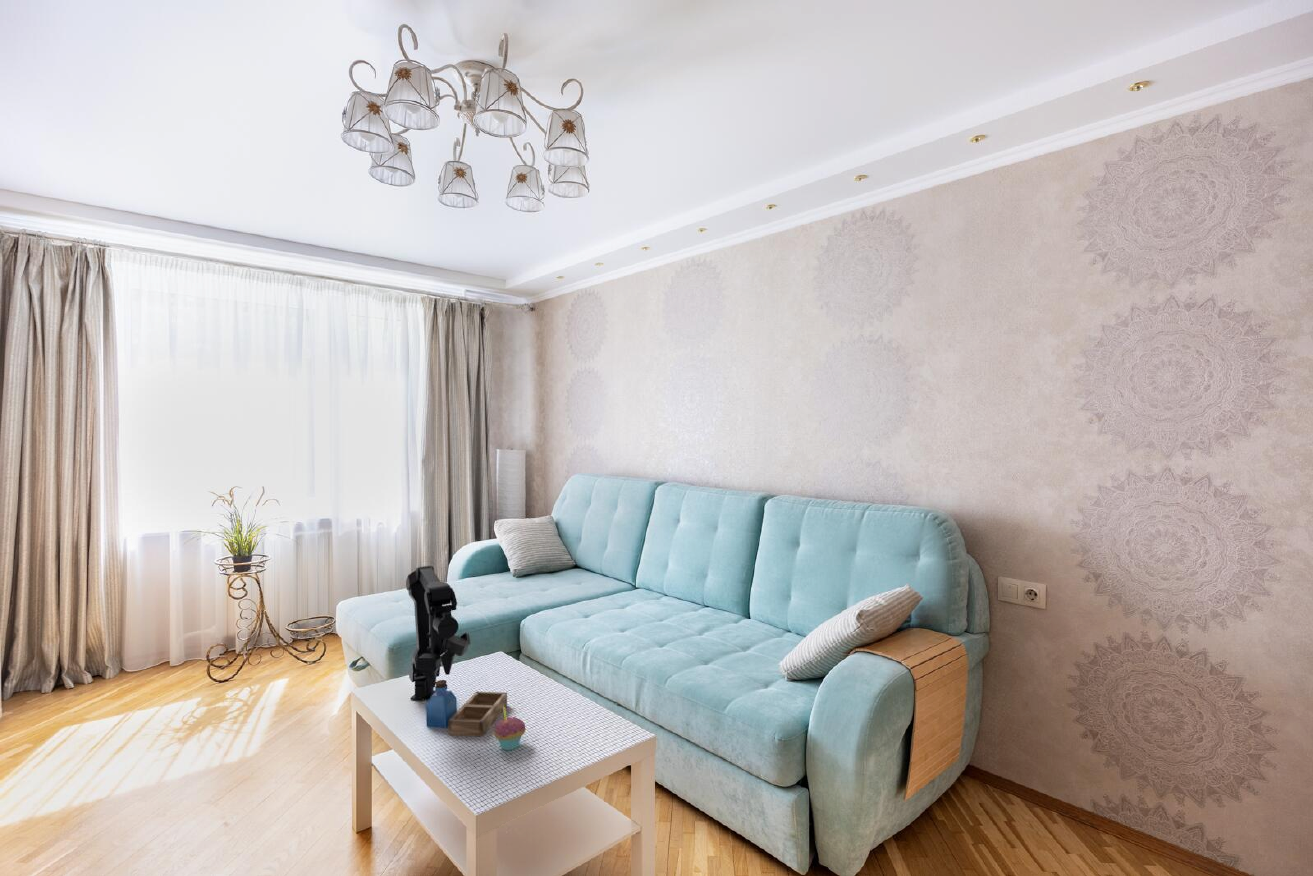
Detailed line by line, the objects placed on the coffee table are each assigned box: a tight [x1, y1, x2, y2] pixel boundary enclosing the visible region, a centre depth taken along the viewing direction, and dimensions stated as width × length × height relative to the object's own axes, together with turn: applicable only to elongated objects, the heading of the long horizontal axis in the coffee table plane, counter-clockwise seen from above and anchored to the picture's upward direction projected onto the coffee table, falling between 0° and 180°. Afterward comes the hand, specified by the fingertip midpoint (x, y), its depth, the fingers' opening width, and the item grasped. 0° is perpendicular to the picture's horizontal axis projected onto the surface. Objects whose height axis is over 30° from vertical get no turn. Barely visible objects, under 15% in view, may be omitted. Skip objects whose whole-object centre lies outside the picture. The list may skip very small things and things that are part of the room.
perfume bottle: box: [425, 679, 458, 729], centre depth 181 cm, size 6×6×12 cm
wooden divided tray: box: [448, 691, 508, 737], centre depth 182 cm, size 20×10×4 cm, turn 173°
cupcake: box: [493, 705, 527, 751], centre depth 167 cm, size 9×8×12 cm
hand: (440, 680), depth 180 cm, fingers open, 9 cm apart
